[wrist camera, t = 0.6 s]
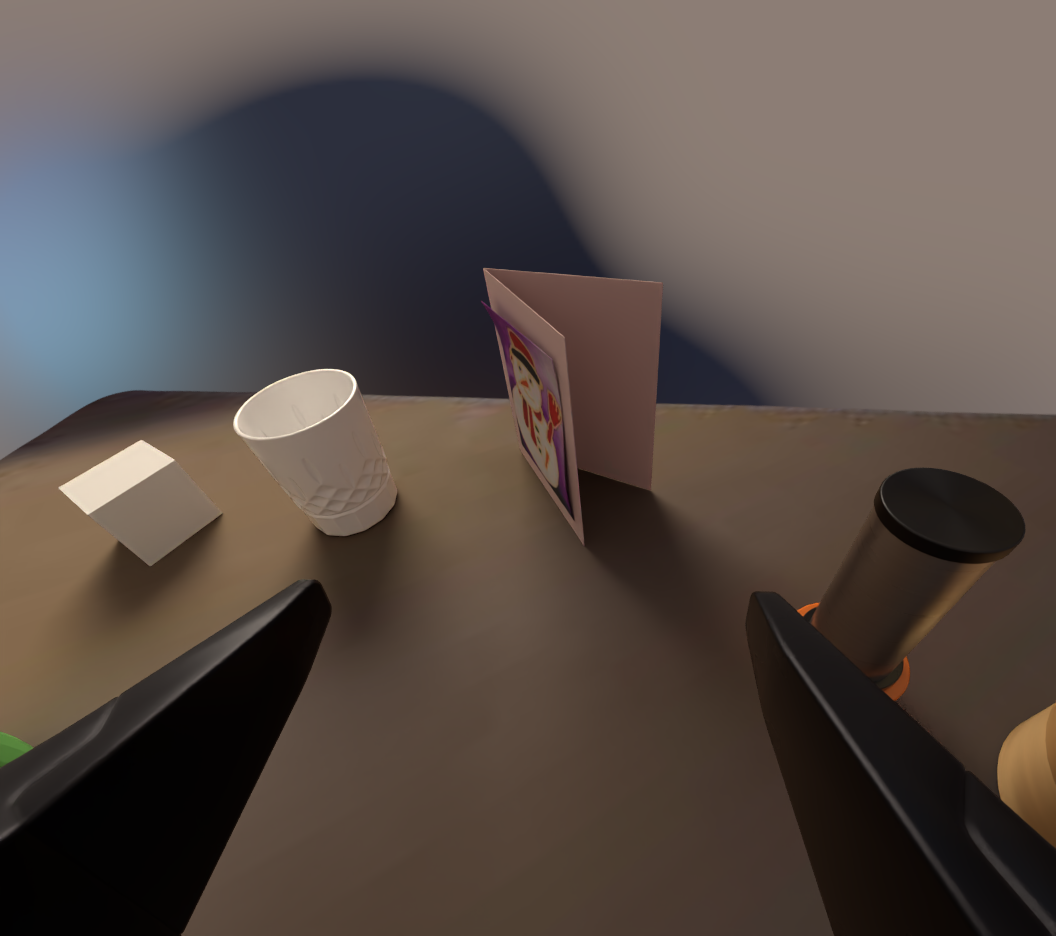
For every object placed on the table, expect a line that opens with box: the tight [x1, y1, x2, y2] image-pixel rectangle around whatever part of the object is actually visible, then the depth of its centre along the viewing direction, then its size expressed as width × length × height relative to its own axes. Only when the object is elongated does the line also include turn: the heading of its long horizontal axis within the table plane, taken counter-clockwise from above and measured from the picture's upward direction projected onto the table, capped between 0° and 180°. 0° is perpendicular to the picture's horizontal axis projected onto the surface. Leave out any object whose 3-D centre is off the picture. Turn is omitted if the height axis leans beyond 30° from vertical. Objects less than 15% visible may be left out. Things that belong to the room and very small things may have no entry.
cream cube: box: [59, 440, 222, 567], centre depth 35 cm, size 6×6×6 cm
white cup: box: [233, 369, 398, 536], centre depth 33 cm, size 8×8×10 cm
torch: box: [798, 468, 1025, 701], centre depth 18 cm, size 5×5×13 cm
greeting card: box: [481, 268, 663, 546], centre depth 30 cm, size 11×7×15 cm, turn 23°
